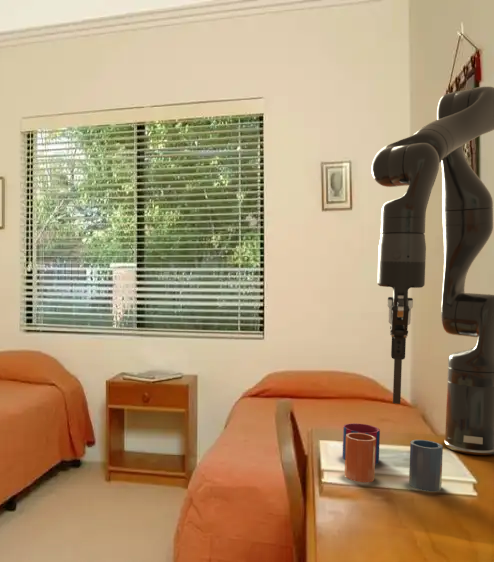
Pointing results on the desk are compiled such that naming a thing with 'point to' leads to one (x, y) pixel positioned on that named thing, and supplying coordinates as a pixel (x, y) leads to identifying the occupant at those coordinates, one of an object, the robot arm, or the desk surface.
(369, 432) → the mug
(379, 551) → the desk surface
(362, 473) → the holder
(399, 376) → the chopstick
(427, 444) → the holder
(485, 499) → the desk surface
